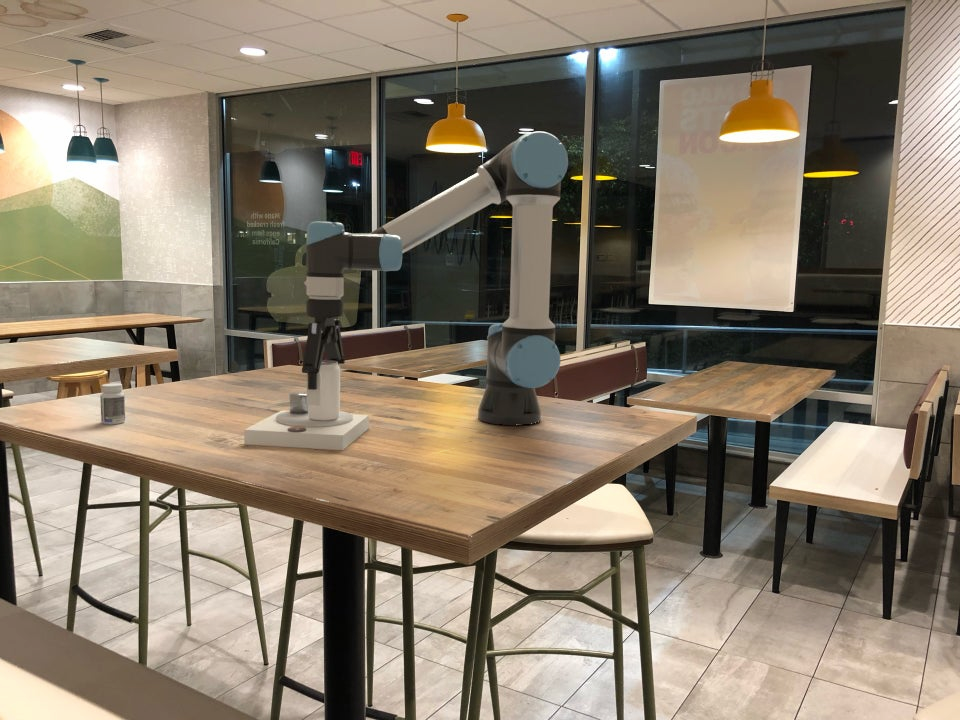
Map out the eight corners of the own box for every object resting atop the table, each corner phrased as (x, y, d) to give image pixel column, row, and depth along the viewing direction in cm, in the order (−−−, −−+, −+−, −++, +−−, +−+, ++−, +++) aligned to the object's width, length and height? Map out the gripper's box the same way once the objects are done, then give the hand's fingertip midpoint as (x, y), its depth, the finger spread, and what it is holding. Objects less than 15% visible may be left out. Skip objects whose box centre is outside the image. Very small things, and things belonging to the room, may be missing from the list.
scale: (369, 427, 166) (370, 411, 166) (342, 450, 146) (343, 432, 145) (283, 422, 168) (283, 406, 168) (244, 444, 148) (244, 426, 147)
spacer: (313, 410, 165) (313, 392, 164) (306, 414, 160) (306, 396, 160) (293, 409, 165) (293, 391, 165) (286, 413, 161) (286, 395, 160)
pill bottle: (130, 421, 164) (129, 384, 163) (111, 425, 160) (110, 387, 159) (115, 419, 166) (113, 382, 165) (96, 423, 162) (94, 384, 161)
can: (332, 422, 153) (332, 364, 152) (303, 420, 155) (303, 363, 153) (344, 416, 160) (344, 360, 158) (316, 414, 161) (316, 359, 159)
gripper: (325, 294, 167) (325, 388, 169) (285, 299, 142) (285, 409, 145) (358, 296, 166) (357, 390, 169) (323, 301, 141) (322, 411, 144)
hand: (324, 399), depth 157 cm, fingers open, 13 cm apart
